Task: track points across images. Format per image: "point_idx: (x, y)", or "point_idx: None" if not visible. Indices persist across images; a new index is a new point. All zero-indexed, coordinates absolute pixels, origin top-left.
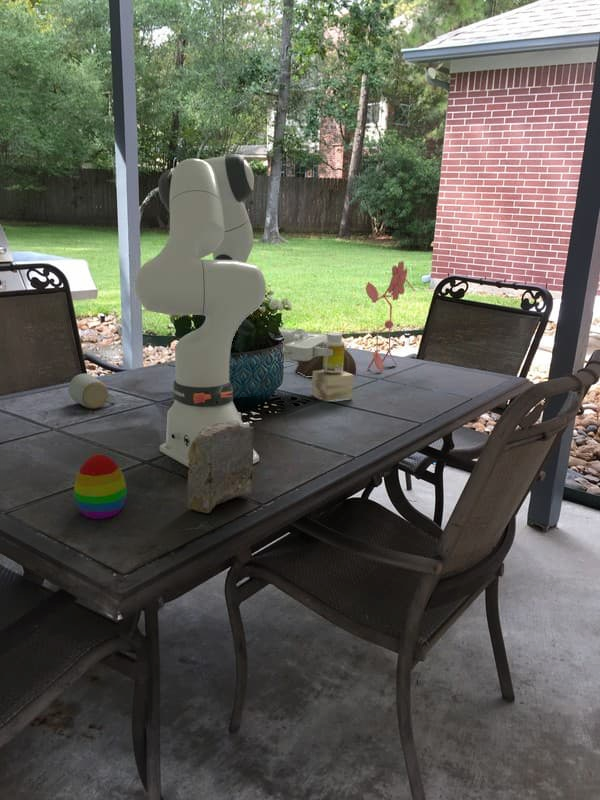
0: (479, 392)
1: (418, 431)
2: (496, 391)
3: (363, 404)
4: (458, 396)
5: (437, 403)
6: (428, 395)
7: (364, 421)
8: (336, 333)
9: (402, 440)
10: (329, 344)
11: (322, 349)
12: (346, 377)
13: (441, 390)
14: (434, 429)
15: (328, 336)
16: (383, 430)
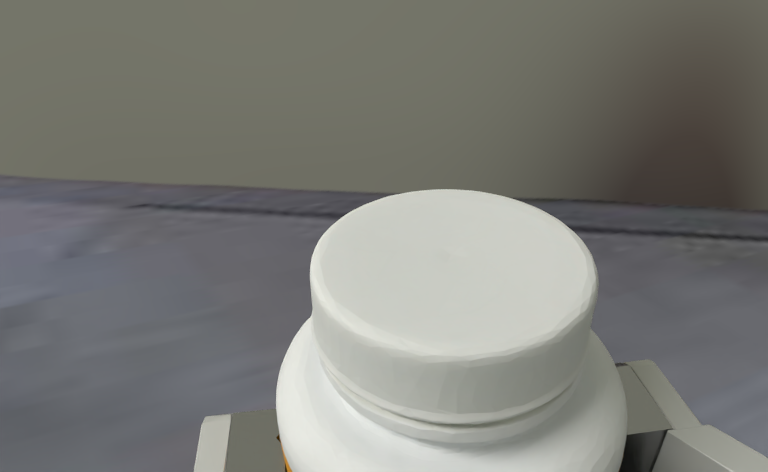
0: (35, 206)
1: (597, 216)
2: (12, 185)
3: None
4: (112, 230)
5: (242, 249)
6: (125, 292)
7: (677, 346)
8: (384, 250)
9: (714, 221)
10: (618, 376)
11: (763, 469)
12: None
13: (20, 280)
14: (540, 199)
15: (589, 329)
16: (694, 273)
